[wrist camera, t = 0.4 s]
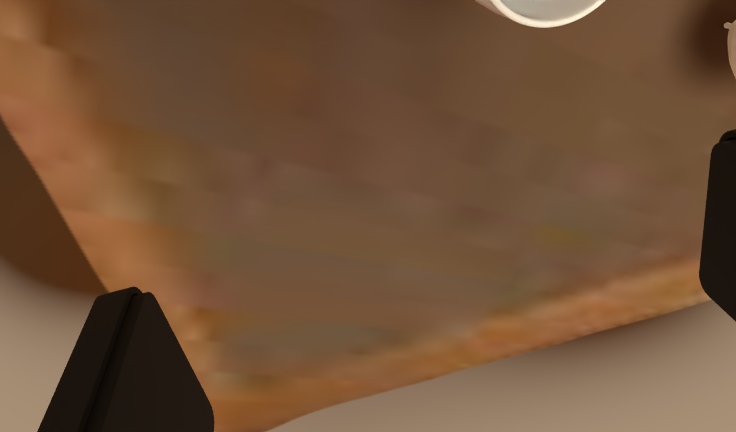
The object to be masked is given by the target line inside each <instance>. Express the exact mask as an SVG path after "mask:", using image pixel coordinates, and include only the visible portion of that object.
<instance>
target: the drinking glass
mask: <svg viewBox="0 0 736 432" xmlns="http://www.w3.org/2000/svg"><path fill="white" fill-rule="evenodd" d="M475 1H476V2H478V3H479V4H481V5H482V6H484V7H485V8H487V9H489V10H490V11H492V12H494V13H496V14H498V15H501V16H503V17H505V18H507V19H510V20H513V21H515V22H518V23H520V24H523V25H526V26H531V27H539V28H548V27H556V26H561V25H565V24H568V23H571V22H573V21H576V20H578V19H580V18H582V17H584V16H586V15H587V14H589V13H590V12H592V11H593V10H595V9H596V8H597V7H598V6H600V5H601V4H602V3H603V2H604V1H605V0H475Z"/></svg>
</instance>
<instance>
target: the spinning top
mask: <svg viewBox="0 0 736 432" xmlns="http://www.w3.org/2000/svg"><path fill="white" fill-rule="evenodd" d="M724 28H727V29H729V32H728V40H727V45H728V57H729V63H730V66H731V69H732V71H733V74H734V76H735V78H736V20H735V21H734V22H733V23H729V22H726V23H725V24H724Z"/></svg>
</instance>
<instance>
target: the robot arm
mask: <svg viewBox="0 0 736 432" xmlns="http://www.w3.org/2000/svg"><path fill="white" fill-rule="evenodd" d="M699 278H700V283H701V285H702V287H703V289H704V291H705V292H706V294H707V295H708V296H709V297H710V298H711V299H712V300H713V301H715V302H716V303H717V304H718V305H719V306H720V307H721V308H722V309H723V310H724V311H725V312H726V313H727V314H728V315H729V316H731V317H732V318H733V319H734V320H735V321H736V129H735V130H731V131H727V132H726V133H725V134H723V135H722V137H721V139H720V141H719V143H717V144H716V145H714V147H713V149H712V152H711V159H710V169H709V179H708V189H707V199H706V209H705V219H704V230H703V240H702V250H701V260H700V270H699ZM37 432H214V415H213V410H212V407H211V404H210V402H209V400H208V398H207V396H206V394H205V392H204V390H203V388H202V387H201V385H200V383H199V381H198V379H197V377H196V375H195V373H194V371H193V369H192V367H191V365H190V363H189V361H188V360H187V358H186V356H185V354H184V352H183V350H182V348H181V346H180V344H179V342H178V340H177V338H176V336H175V334H174V333H173V331H172V329H171V327H170V325H169V323H168V321H167V319H166V317H165V315H164V313H163V311H162V309H161V308H160V306H159V304H158V302H157V300H156V298H155V297H154V295H153V294H152V293H150V292H146V293H142V292H141V291H140V290H139V289H138V288H137V287H130V288H126V289H123V290H119V291H115V292H111V293H107V294H103V295H100V296H98V297H97V298H96V300H95V301H94V304H93V306H92V308H91V310H90V313H89V315H88V317H87V320H86V322H85V324H84V327H83V329H82V331H81V333H80V335H79V338H78V340H77V342H76V345H75V347H74V349H73V352H72V354H71V356H70V358H69V361H68V363H67V365H66V367H65V370H64V372H63V374H62V377H61V379H60V381H59V384H58V386H57V388H56V391H55V393H54V395H53V397H52V400H51V402H50V404H49V406H48V409H47V411H46V413H45V416H44V418H43V420H42V422H41V424H40V427H39V429H38V431H37Z"/></svg>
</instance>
